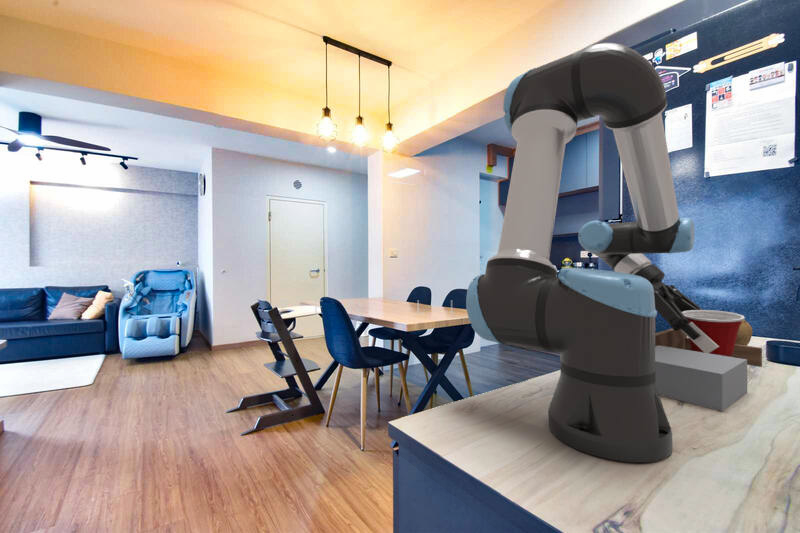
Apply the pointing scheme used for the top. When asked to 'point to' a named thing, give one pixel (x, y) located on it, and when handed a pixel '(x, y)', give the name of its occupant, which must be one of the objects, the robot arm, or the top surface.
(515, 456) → the top surface
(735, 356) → the brown wooden frame
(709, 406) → the grey square block
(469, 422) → the top surface
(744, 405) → the top surface
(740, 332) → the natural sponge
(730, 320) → the plastic cup
